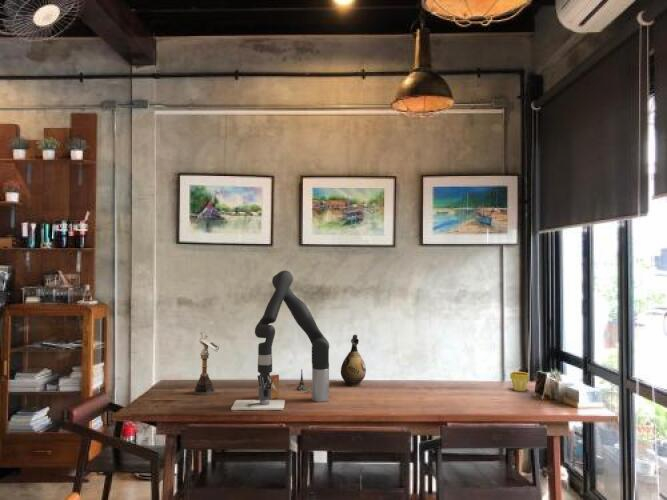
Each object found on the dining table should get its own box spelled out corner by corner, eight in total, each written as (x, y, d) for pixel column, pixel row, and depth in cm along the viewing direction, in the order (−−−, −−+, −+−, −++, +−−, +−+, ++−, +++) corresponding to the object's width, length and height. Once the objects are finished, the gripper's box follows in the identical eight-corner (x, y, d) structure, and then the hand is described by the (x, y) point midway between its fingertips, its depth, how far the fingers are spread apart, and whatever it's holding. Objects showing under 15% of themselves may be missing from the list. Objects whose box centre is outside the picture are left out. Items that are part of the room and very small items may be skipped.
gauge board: (284, 402, 298) (284, 399, 298) (282, 411, 282) (282, 408, 282) (236, 402, 297) (236, 399, 297) (231, 411, 281) (231, 408, 281)
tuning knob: (268, 401, 293) (268, 386, 293) (271, 403, 289) (271, 388, 289) (246, 404, 288) (246, 388, 288) (249, 406, 283) (250, 390, 283)
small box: (265, 399, 304) (266, 375, 304) (260, 397, 309) (260, 373, 309) (279, 397, 308) (279, 374, 308) (273, 395, 314) (273, 372, 314)
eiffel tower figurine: (308, 394, 318) (308, 370, 318) (290, 393, 320) (290, 370, 320) (313, 388, 333) (313, 365, 333) (297, 387, 335) (297, 365, 335)
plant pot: (526, 388, 332) (526, 371, 332) (530, 392, 322) (530, 375, 322) (508, 387, 333) (508, 371, 333) (512, 391, 323) (512, 374, 323)
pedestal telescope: (225, 389, 327) (225, 329, 327) (222, 395, 314) (222, 332, 314) (196, 389, 326) (196, 329, 326) (192, 395, 313) (192, 332, 313)
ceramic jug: (366, 387, 333) (366, 337, 333) (340, 387, 333) (340, 337, 333) (365, 380, 350) (365, 333, 350) (340, 380, 350) (340, 333, 350)
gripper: (252, 361, 294) (252, 394, 294) (264, 366, 282) (264, 400, 282) (265, 360, 298) (265, 392, 298) (277, 364, 286) (277, 398, 286)
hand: (264, 396), depth 290 cm, fingers closed on tuning knob, 2 cm apart
